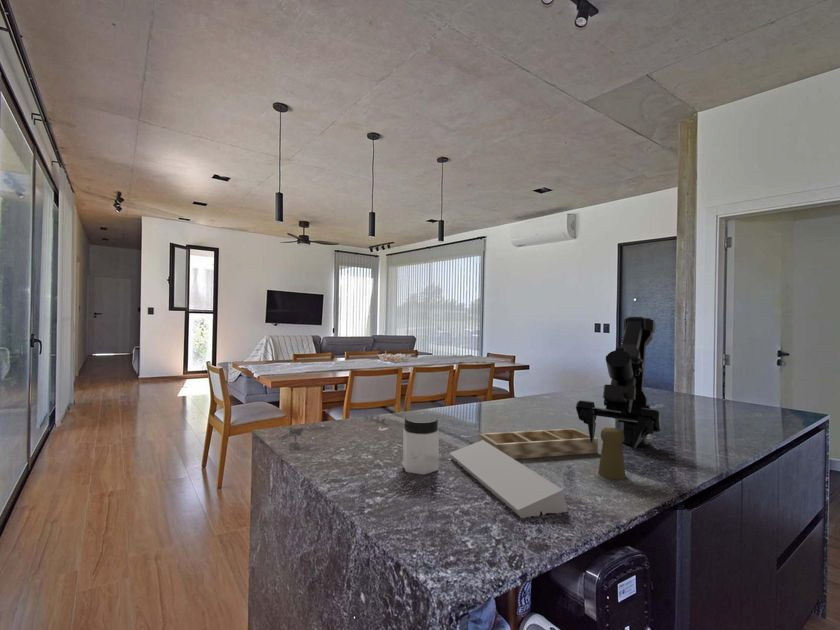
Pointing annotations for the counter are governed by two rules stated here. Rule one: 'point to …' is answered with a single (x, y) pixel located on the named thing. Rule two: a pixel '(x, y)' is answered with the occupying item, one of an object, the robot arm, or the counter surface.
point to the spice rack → (541, 443)
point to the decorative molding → (510, 480)
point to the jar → (420, 444)
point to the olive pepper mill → (612, 454)
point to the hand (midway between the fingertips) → (611, 444)
